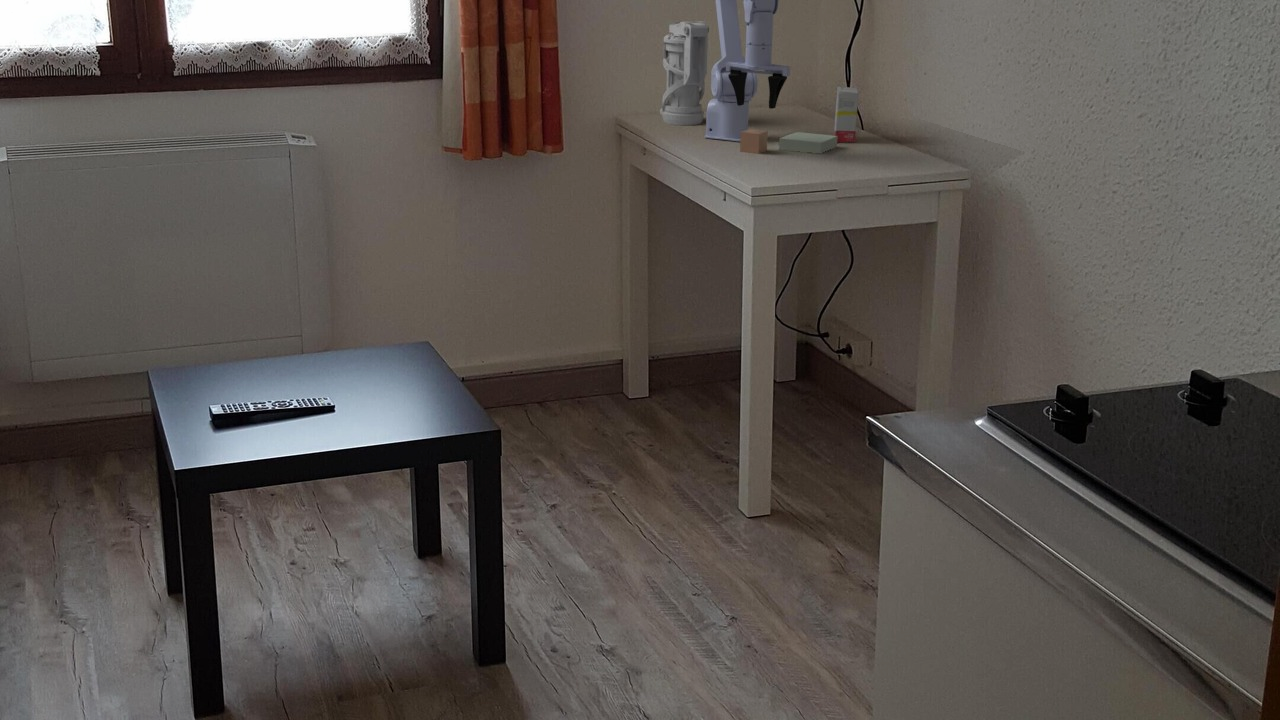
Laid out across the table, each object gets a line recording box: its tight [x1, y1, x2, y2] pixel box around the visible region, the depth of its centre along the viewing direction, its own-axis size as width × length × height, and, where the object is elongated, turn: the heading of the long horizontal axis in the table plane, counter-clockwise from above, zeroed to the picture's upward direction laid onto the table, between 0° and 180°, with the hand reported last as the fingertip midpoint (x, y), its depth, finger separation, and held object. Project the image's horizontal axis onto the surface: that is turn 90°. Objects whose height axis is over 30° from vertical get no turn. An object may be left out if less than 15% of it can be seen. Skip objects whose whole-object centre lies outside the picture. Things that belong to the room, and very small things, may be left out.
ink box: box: [833, 86, 859, 144], centre depth 317 cm, size 9×5×12 cm, turn 173°
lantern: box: [659, 20, 710, 126], centre depth 335 cm, size 13×10×25 cm
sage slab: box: [778, 131, 838, 154], centre depth 308 cm, size 10×10×2 cm
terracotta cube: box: [739, 128, 769, 155], centre depth 303 cm, size 4×4×4 cm
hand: (756, 106), depth 301 cm, fingers open, 7 cm apart
